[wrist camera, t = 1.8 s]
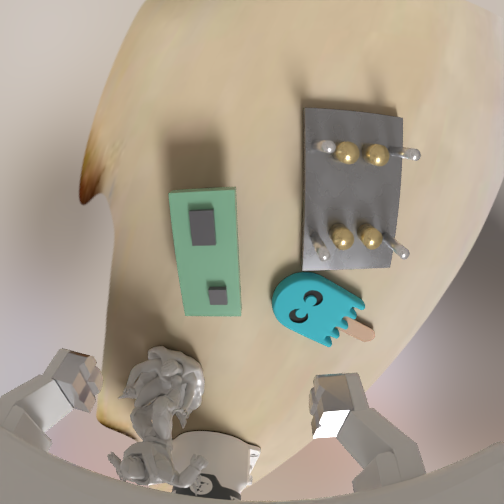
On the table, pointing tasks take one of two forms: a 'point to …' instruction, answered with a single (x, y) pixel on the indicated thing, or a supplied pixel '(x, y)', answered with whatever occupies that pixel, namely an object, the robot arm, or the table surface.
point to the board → (207, 250)
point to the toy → (318, 308)
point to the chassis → (351, 189)
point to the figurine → (161, 418)
